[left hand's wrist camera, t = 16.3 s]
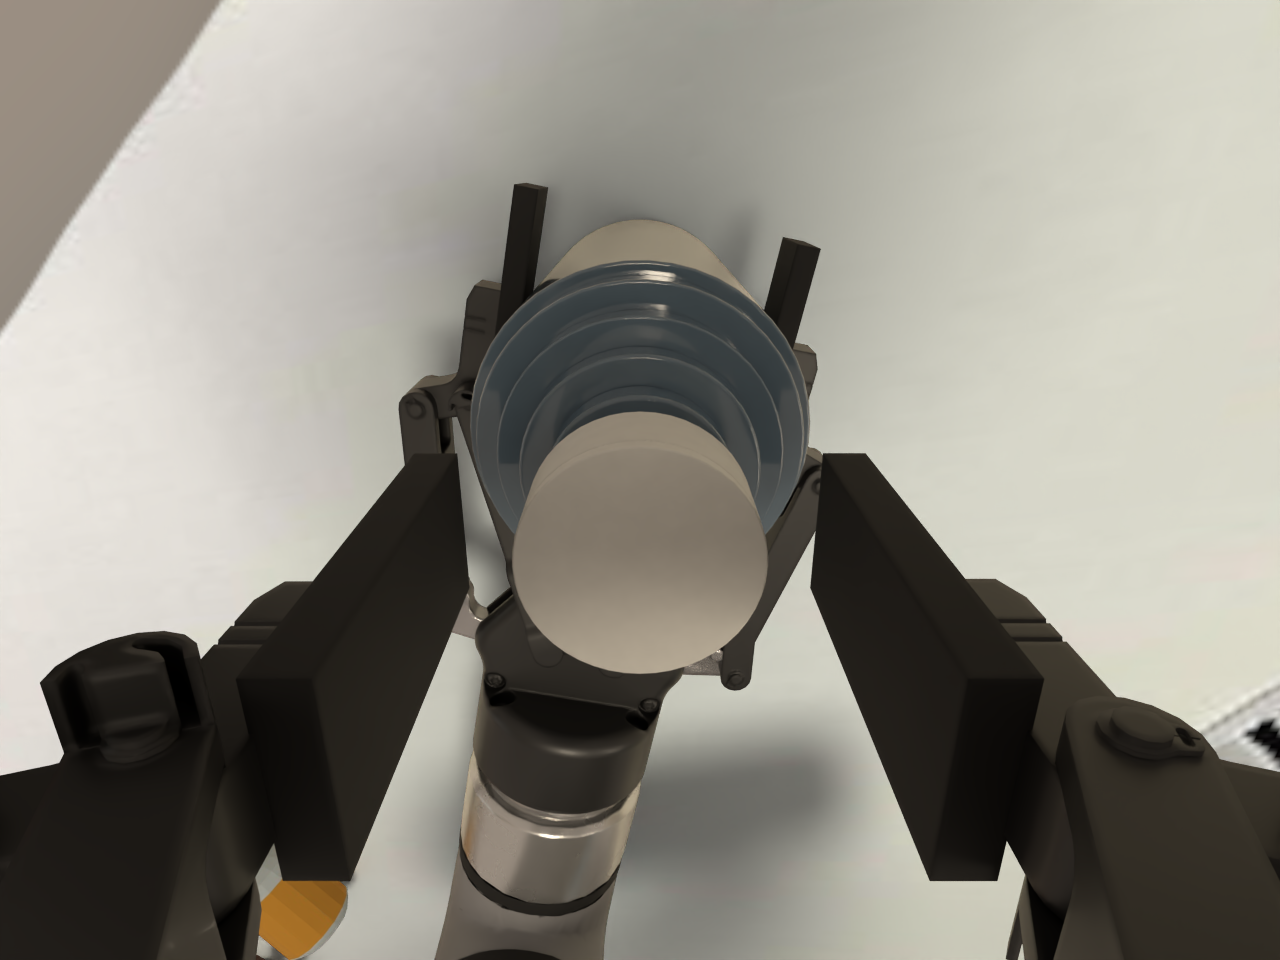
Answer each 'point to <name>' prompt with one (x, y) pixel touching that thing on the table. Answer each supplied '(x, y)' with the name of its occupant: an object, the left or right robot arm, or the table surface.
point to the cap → (640, 545)
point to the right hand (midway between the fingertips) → (667, 215)
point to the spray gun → (297, 910)
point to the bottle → (640, 363)
